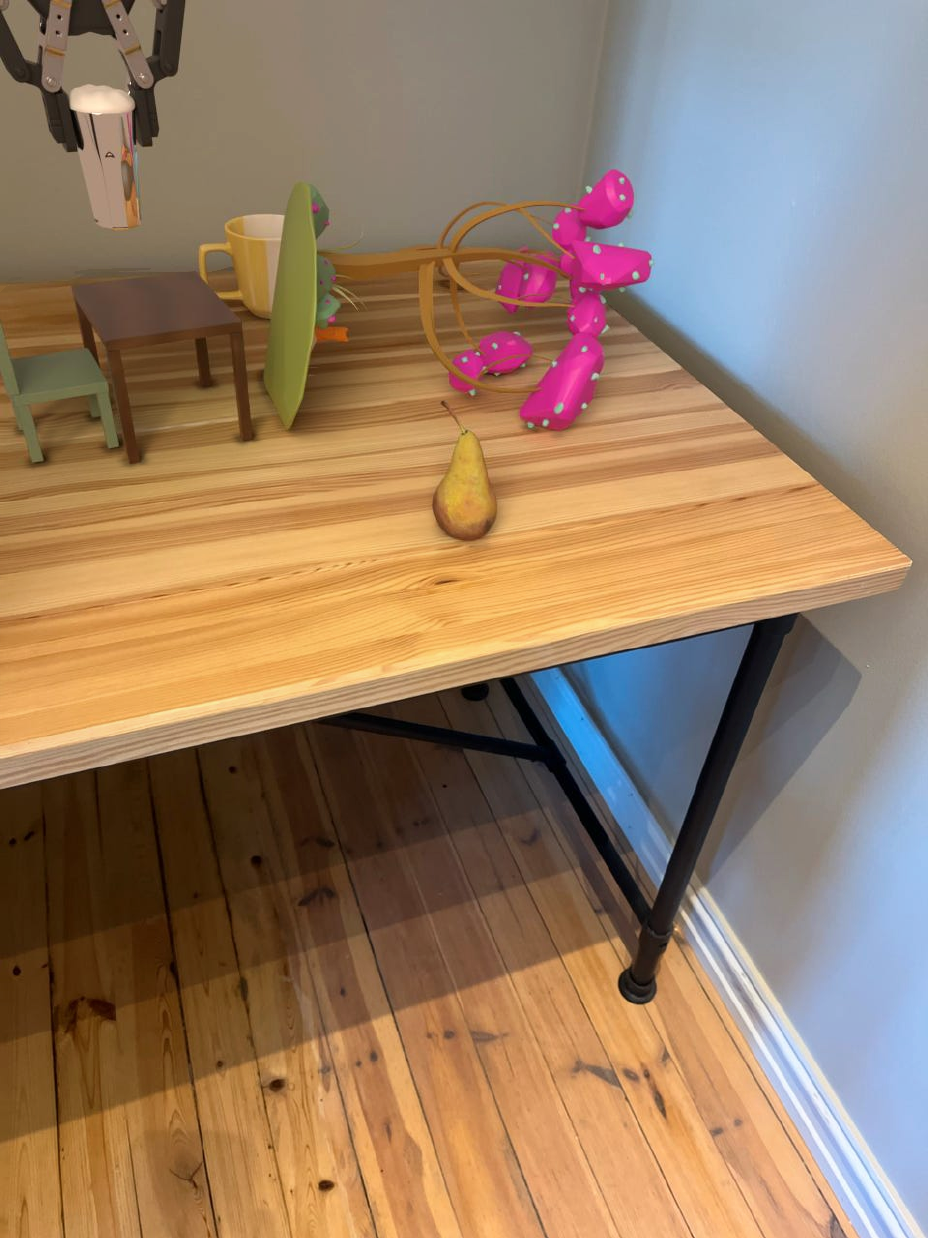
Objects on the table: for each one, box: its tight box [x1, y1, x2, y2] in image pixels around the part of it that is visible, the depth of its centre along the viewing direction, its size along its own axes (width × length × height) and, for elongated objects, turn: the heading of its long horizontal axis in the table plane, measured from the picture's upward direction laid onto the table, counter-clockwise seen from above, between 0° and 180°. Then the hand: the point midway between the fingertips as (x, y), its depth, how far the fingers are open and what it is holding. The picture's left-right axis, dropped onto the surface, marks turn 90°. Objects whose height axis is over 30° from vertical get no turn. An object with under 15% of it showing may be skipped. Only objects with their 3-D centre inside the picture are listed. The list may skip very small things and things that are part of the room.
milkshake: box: [67, 72, 142, 231], centre depth 66 cm, size 5×5×10 cm
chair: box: [0, 319, 120, 464], centre depth 83 cm, size 8×8×17 cm
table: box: [70, 270, 254, 465], centre depth 89 cm, size 12×14×12 cm
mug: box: [198, 213, 285, 320], centre depth 112 cm, size 14×10×10 cm
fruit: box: [431, 400, 498, 541], centre depth 76 cm, size 6×6×12 cm
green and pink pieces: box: [262, 168, 656, 431], centre depth 94 cm, size 30×28×35 cm
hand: (107, 145), depth 66 cm, fingers closed on milkshake, 4 cm apart
